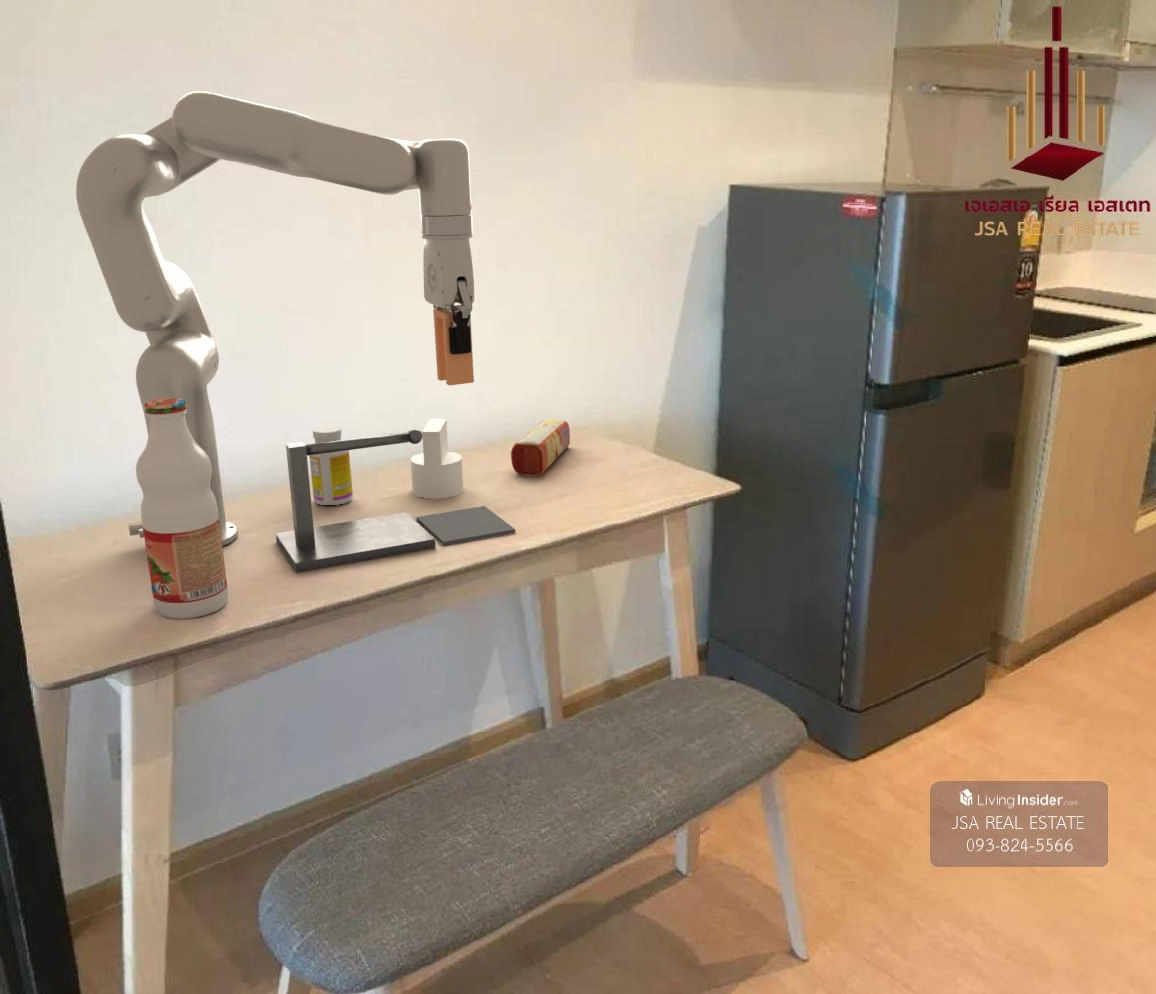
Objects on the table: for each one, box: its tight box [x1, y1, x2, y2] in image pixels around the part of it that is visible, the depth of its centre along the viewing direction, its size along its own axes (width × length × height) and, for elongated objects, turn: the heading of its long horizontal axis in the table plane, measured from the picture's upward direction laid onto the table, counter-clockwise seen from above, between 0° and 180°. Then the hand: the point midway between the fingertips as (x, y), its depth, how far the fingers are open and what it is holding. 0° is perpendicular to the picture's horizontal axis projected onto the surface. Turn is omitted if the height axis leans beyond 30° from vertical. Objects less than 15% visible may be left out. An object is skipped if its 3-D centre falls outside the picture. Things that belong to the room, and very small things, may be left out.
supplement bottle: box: [309, 425, 354, 506], centre depth 182 cm, size 7×7×13 cm
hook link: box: [432, 307, 475, 386], centre depth 161 cm, size 4×5×11 cm
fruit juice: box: [135, 398, 229, 620], centre depth 138 cm, size 9×9×28 cm
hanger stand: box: [275, 427, 436, 574], centre depth 161 cm, size 22×14×17 cm, turn 117°
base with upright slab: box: [410, 418, 464, 500], centre depth 187 cm, size 9×9×12 cm
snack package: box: [510, 418, 571, 477], centre depth 205 cm, size 21×7×7 cm, turn 166°
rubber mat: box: [415, 505, 516, 547], centre depth 171 cm, size 12×13×1 cm
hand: (453, 349), depth 161 cm, fingers closed on hook link, 5 cm apart
